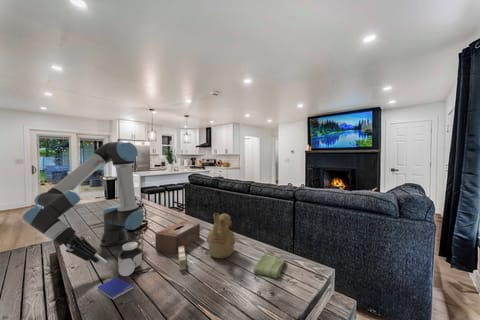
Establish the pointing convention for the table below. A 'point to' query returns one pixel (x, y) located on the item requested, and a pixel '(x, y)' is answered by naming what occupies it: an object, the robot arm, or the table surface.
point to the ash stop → (181, 258)
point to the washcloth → (269, 266)
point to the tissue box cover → (177, 236)
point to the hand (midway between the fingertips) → (104, 264)
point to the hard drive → (115, 288)
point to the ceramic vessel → (221, 237)
